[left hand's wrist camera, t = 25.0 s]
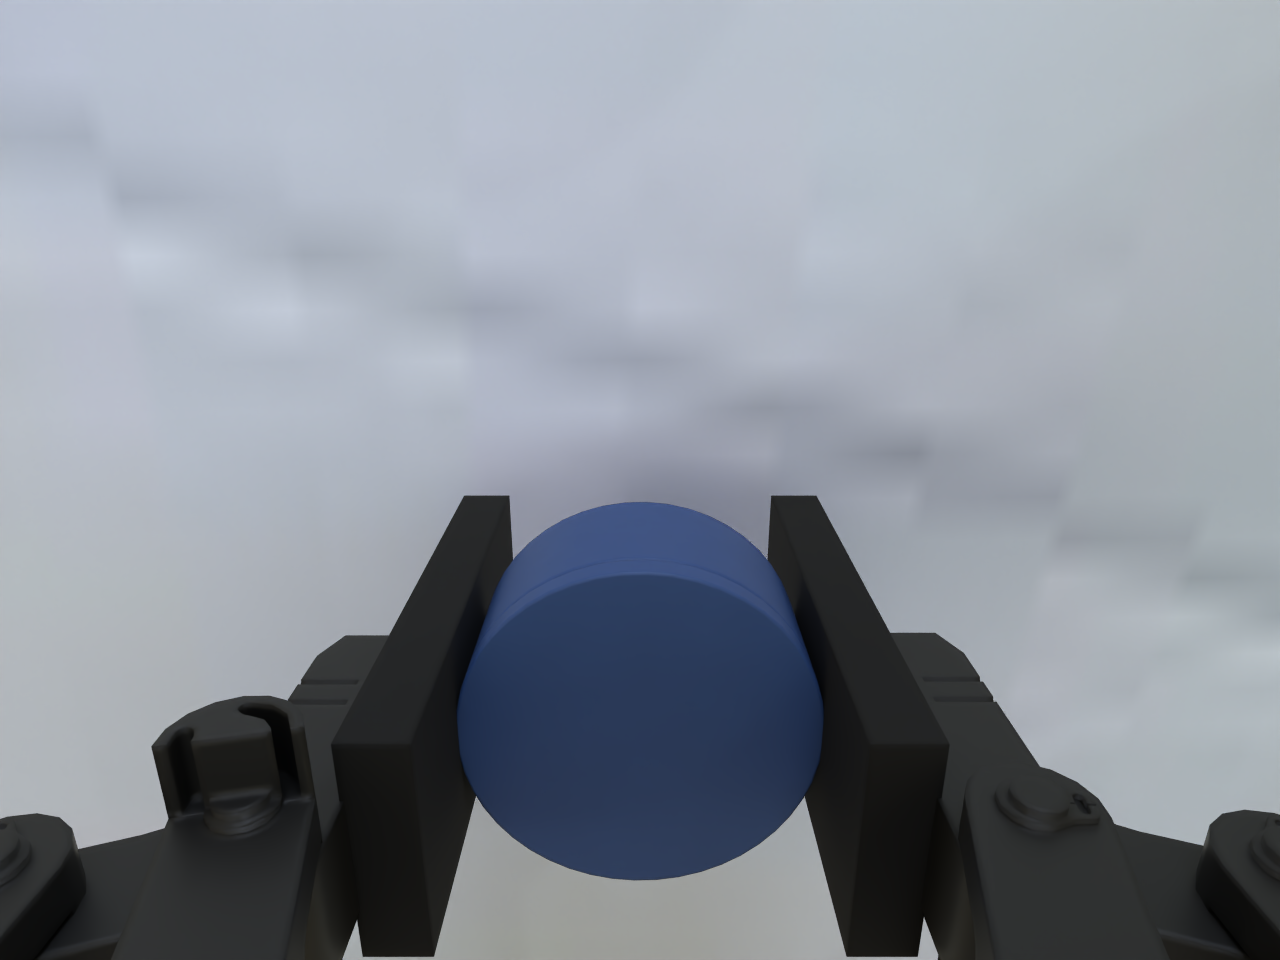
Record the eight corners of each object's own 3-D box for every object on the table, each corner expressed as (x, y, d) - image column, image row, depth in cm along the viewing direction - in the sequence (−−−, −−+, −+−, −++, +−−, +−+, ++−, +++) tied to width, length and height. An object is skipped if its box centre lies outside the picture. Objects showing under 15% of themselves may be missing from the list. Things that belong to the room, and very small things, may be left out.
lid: (764, 469, 11) (793, 535, 9) (817, 740, 13) (850, 848, 11) (445, 538, 12) (404, 616, 10) (532, 794, 13) (513, 907, 11)
